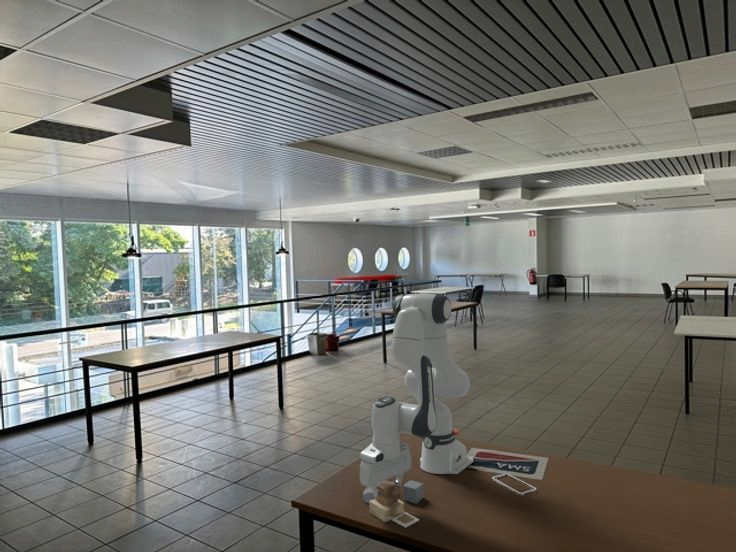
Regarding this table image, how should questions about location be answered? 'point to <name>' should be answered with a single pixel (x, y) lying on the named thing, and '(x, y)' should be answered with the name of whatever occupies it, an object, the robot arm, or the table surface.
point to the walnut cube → (387, 493)
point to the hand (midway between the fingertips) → (387, 491)
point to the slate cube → (413, 491)
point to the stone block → (369, 494)
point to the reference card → (405, 519)
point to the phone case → (510, 487)
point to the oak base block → (386, 509)
